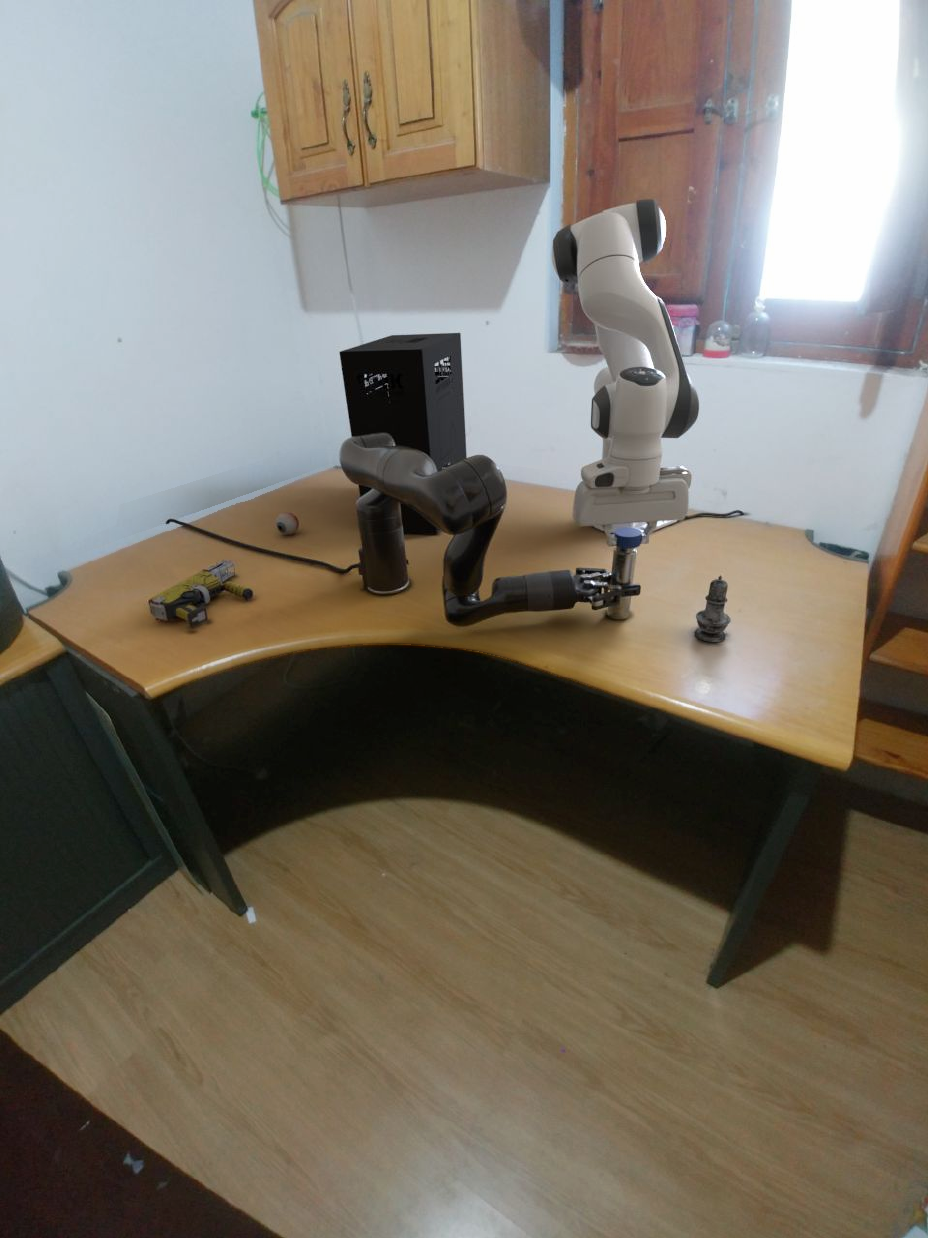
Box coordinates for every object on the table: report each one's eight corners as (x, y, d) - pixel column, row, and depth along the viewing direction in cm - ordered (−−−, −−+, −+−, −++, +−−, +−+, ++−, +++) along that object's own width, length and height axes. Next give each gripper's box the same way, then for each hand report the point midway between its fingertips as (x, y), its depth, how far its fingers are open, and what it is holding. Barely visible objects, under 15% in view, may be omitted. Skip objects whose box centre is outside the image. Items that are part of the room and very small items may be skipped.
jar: (604, 610, 120) (611, 537, 112) (623, 608, 121) (632, 534, 113) (612, 620, 117) (620, 545, 109) (632, 618, 117) (641, 543, 109)
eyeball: (273, 537, 164) (268, 516, 161) (287, 528, 169) (282, 508, 166) (291, 539, 161) (286, 518, 158) (305, 530, 166) (301, 510, 163)
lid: (643, 548, 109) (644, 536, 108) (616, 549, 109) (617, 537, 108) (637, 538, 113) (638, 526, 112) (611, 539, 113) (612, 527, 112)
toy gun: (275, 568, 138) (221, 556, 142) (203, 614, 118) (142, 599, 122) (277, 586, 140) (223, 575, 144) (207, 635, 120) (146, 620, 124)
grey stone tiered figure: (729, 644, 107) (742, 583, 101) (695, 641, 108) (705, 582, 102) (724, 627, 112) (735, 568, 106) (691, 625, 113) (700, 567, 107)
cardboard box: (436, 534, 159) (422, 349, 137) (364, 531, 164) (339, 351, 141) (468, 489, 191) (460, 332, 168) (407, 487, 195) (391, 335, 173)
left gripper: (556, 590, 107) (650, 582, 108) (540, 558, 119) (625, 550, 120) (555, 627, 110) (646, 618, 111) (539, 591, 123) (622, 584, 124)
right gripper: (686, 460, 107) (676, 533, 114) (572, 468, 107) (569, 541, 114) (700, 470, 102) (689, 546, 109) (579, 479, 101) (576, 554, 108)
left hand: (635, 583), depth 116 cm, fingers closed on jar, 4 cm apart
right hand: (627, 543), depth 111 cm, fingers closed on lid, 4 cm apart
